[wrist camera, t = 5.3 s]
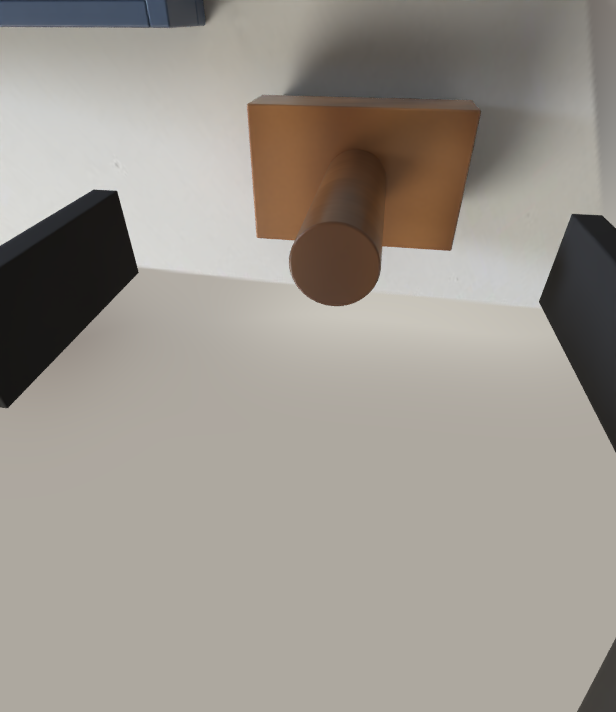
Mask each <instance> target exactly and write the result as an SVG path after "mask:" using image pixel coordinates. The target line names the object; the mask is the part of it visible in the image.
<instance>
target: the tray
mask: <svg viewBox="0 0 616 712" xmlns="http://www.w3.org/2000/svg"><path fill="white" fill-rule="evenodd" d="M205 23H206V22H205V13H204V4H203V0H0V27H134V28H150V27H152V28H172V27H188V26H204V25H205Z"/></svg>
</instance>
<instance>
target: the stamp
mask: <svg viewBox="0 0 616 712" xmlns="http://www.w3.org/2000/svg"><path fill="white" fill-rule="evenodd" d="M247 112H248V125H249V139H250V152H251V166H252V179H253V193H254V206H255V220H256V233H257V238H267V239H282V240H295V241H294V243H293V246H292V248H291V251H290V256H289V268H290V272H291V275H292V278H293V280H294V282H295V284H296V285H297V287H298V288H299V289H300V290H301V291H302V292H303V293H304V294H305V295H306V296H307V297H309V298H310V299H312V300H314V301H316V302H318V303H321V304H324V305H330V306H344V305H349V304H352V303H355V302H357V301H359V300H360V299H362V298H364V297H365V296H366V295H368V294H369V293H370V292H371V290H372V289H373V288H374V286H375V285H376V283H377V281H378V278H379V276H380V271H381V257H382V246H387V247H402V248H418V249H433V250H448V251H450V250H451V249H452V245H453V240H454V235H455V231H456V226H457V221H458V217H459V212H460V207H461V203H462V198H463V193H464V189H465V184H466V179H467V175H468V170H469V166H470V161H471V156H472V152H473V147H474V142H475V138H476V133H477V128H478V124H479V119H480V114H481V110H480V109H479V108H478V107H477V106H476V104H475V103H474V102H473V101H472V100H446V99H406V98H366V97H325V96H285V95H262V96H260V97H258V98H257V99H255V100H253V101H252V102H250V103H248V104H247Z"/></svg>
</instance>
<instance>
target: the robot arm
mask: <svg viewBox="0 0 616 712" xmlns="http://www.w3.org/2000/svg"><path fill="white" fill-rule="evenodd" d="M137 274H138V268H137V265H136V261H135V257H134V253H133V249H132V246H131V242H130V238H129V234H128V230H127V227H126V223H125V219H124V215H123V211H122V208H121V204H120V200H119V196H118V192H117V191H109V190H92V191H91V192H89V193H87V194H86V195H84V196H82V197H81V198H79V199H77V200H76V201H74V202H72V203H71V204H69V205H67V206H66V207H64V208H62V209H61V210H59V211H57V212H56V213H54V214H52V215H51V216H49V217H47V218H46V219H44V220H42V221H41V222H39V223H37V224H36V225H34V226H32V227H31V228H29V229H27V230H26V231H24V232H22V233H21V234H19V235H17V236H16V237H14V238H13V239H11V240H9V241H8V242H6V243H4V244H3V245H1V246H0V407H2V408H8V407H9V406H10V405H11V404H12V403H13V402H14V401H15V400H16V399H17V398H18V397H19V396H20V395H21V394H22V393H23V392H24V391H25V390H26V388H27V387H29V386H30V384H31V383H32V382H33V381H34V380H35V379H36V378H37V377H38V376H39V375H40V374H41V373H42V372H43V371H44V370H45V369H46V368H47V367H48V366H49V365H50V364H51V363H52V362H53V361H54V360H55V359H56V357H58V355H59V354H60V353H61V352H62V351H63V350H64V349H65V348H66V347H67V346H68V345H69V344H70V343H71V342H72V341H73V340H74V339H75V338H76V337H77V336H78V335H79V334H80V333H81V332H82V331H83V330H84V329H85V328H86V326H87V325H88V324H89V323H90V322H91V321H92V320H93V319H94V318H95V317H96V316H97V315H98V314H99V313H100V312H101V311H102V310H103V309H104V308H105V307H106V306H107V305H108V304H109V303H110V302H111V301H112V299H113V298H114V297H115V296H116V295H117V294H118V293H119V292H120V291H121V290H122V289H123V288H124V287H125V286H126V285H127V284H128V283H129V282H130V281H131V280H132V279H133V278H134V277H135V276H136V275H137ZM539 303H540V305H541V307H542V309H543V311H544V313H545V314H546V317H547V318H548V320H549V322H550V324H551V326H552V328H553V330H554V332H555V334H556V336H557V338H558V340H559V342H560V344H561V346H562V348H563V350H564V352H565V354H566V356H567V358H568V360H569V362H570V363H571V365H572V368H573V369H574V371H575V373H576V375H577V377H578V379H579V381H580V383H581V385H582V387H583V389H584V391H585V393H586V395H587V396H588V399H589V401H590V403H591V405H592V407H593V409H594V411H595V412H596V414H597V416H598V418H599V420H600V422H601V424H602V426H603V428H604V430H605V432H606V434H607V436H608V438H609V440H610V442H611V444H612V446H613V448H614V450H615V452H616V228H615V227H614V226H613V225H611V224H610V223H609V222H608V221H607V220H606V219H605V218H604V217H603V216H602V215H582V214H572V215H571V218H570V221H569V223H568V226H567V229H566V231H565V234H564V237H563V239H562V242H561V245H560V247H559V250H558V253H557V255H556V258H555V261H554V263H553V266H552V269H551V271H550V274H549V277H548V279H547V282H546V284H545V287H544V290H543V292H542V295H541V298H540V300H539ZM577 712H616V639H615V640H614V643H613V644H612V647H611V648H610V650H609V652H608V654H607V656H606V658H605V660H604V662H603V663H602V665H601V668H600V669H599V671H598V673H597V675H596V677H595V679H594V681H593V683H592V684H591V686H590V688H589V690H588V692H587V694H586V696H585V698H584V700H583V702H582V704H581V706H580V707H579V709H578V711H577Z"/></svg>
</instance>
